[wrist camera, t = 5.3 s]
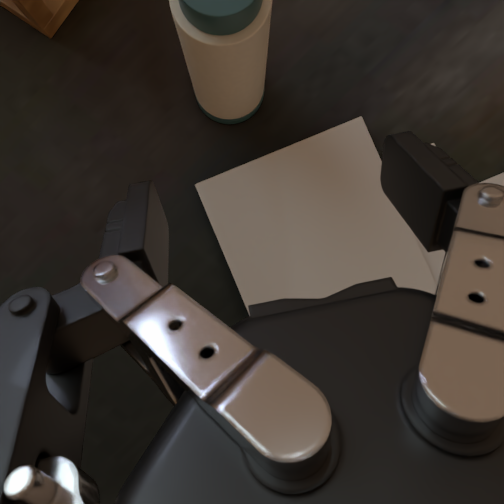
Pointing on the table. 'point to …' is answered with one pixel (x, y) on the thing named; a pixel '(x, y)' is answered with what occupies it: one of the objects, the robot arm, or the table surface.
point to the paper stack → (315, 221)
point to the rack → (41, 13)
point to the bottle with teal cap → (225, 54)
